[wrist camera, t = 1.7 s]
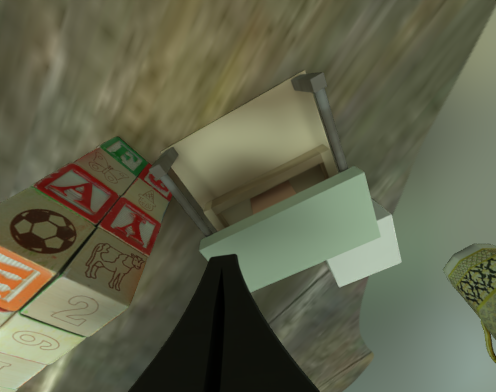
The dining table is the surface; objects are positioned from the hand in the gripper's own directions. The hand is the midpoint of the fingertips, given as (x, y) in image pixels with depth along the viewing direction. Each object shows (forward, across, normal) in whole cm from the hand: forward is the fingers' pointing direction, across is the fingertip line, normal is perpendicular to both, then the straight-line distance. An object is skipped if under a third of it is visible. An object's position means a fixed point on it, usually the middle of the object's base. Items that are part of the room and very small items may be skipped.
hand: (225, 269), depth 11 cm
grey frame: (+10, -4, 0) cm, 11 cm away
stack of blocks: (+11, +15, +3) cm, 19 cm away
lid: (+5, -5, +3) cm, 8 cm away
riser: (+10, -13, +8) cm, 18 cm away
